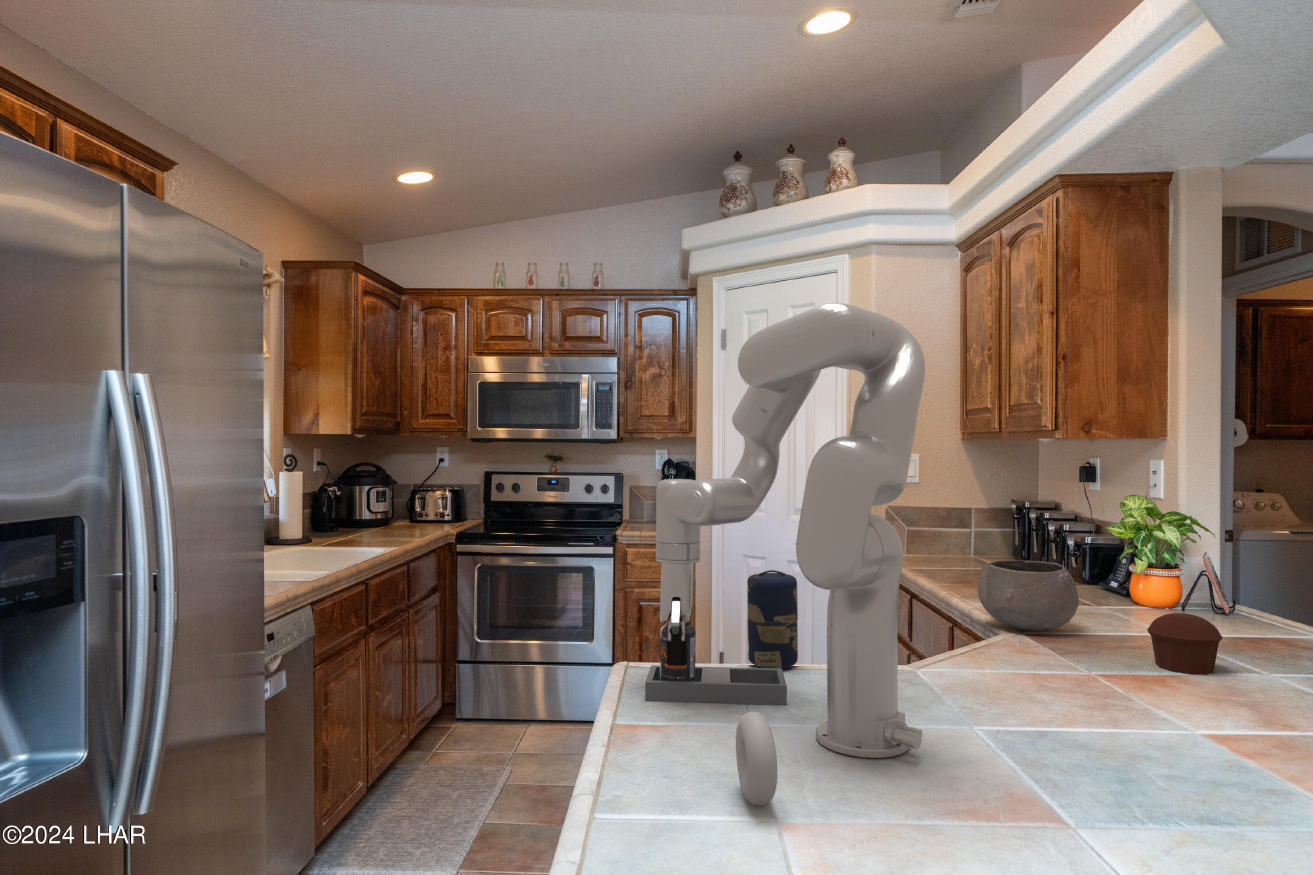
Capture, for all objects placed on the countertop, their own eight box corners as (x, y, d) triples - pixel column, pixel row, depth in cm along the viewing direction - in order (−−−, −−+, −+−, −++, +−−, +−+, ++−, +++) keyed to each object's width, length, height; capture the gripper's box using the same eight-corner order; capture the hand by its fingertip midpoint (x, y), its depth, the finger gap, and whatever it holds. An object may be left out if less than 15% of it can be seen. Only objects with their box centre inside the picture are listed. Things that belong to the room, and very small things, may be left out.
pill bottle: (654, 682, 126) (654, 614, 126) (667, 673, 131) (667, 607, 132) (688, 687, 124) (688, 617, 124) (700, 677, 129) (700, 610, 129)
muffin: (1154, 672, 140) (1153, 618, 140) (1141, 657, 150) (1140, 607, 150) (1232, 679, 135) (1231, 623, 135) (1213, 664, 145) (1212, 611, 146)
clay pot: (1098, 639, 165) (1097, 570, 165) (1001, 639, 165) (1001, 569, 166) (1049, 618, 186) (1048, 557, 186) (964, 618, 186) (963, 557, 187)
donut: (733, 783, 92) (732, 700, 92) (761, 782, 92) (760, 699, 92) (750, 823, 82) (749, 729, 82) (781, 821, 82) (781, 728, 82)
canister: (797, 673, 139) (797, 574, 139) (745, 670, 140) (745, 572, 141) (798, 659, 148) (798, 567, 148) (749, 657, 150) (749, 565, 150)
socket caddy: (782, 686, 131) (781, 668, 131) (786, 704, 121) (786, 685, 121) (651, 682, 133) (651, 665, 133) (645, 700, 123) (645, 682, 123)
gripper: (660, 545, 137) (659, 646, 136) (651, 558, 120) (650, 673, 119) (701, 546, 136) (701, 647, 136) (698, 559, 119) (698, 674, 119)
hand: (677, 658), depth 128 cm, fingers closed on pill bottle, 6 cm apart
